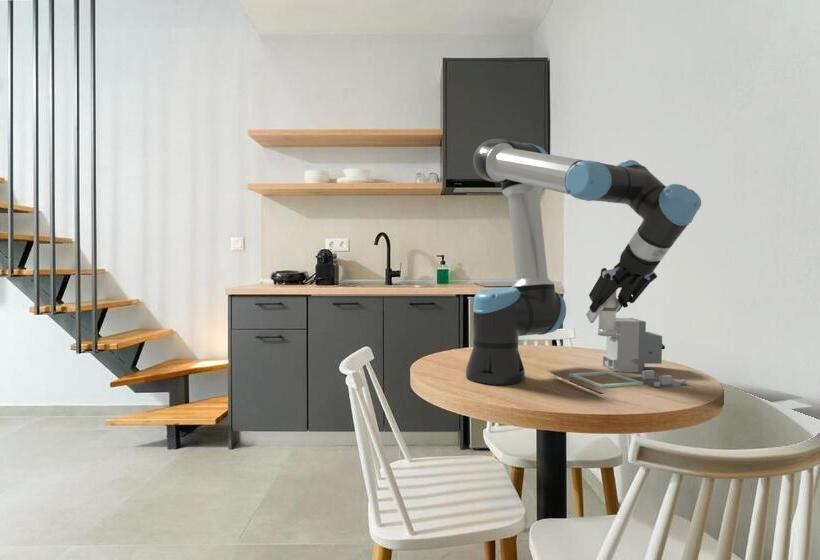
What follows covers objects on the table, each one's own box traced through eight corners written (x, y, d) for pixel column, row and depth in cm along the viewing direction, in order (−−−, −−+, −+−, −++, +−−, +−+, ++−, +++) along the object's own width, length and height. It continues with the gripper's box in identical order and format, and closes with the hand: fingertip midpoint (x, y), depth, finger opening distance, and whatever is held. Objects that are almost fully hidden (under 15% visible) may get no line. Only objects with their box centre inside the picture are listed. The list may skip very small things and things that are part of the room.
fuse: (605, 336, 112) (606, 286, 112) (594, 334, 116) (595, 285, 116) (619, 336, 113) (620, 286, 113) (607, 333, 117) (608, 285, 117)
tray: (601, 394, 108) (601, 385, 108) (568, 381, 119) (569, 373, 119) (643, 390, 112) (643, 382, 111) (607, 378, 123) (608, 371, 123)
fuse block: (656, 394, 108) (656, 379, 108) (624, 383, 118) (625, 369, 118) (690, 391, 111) (690, 376, 111) (656, 381, 121) (657, 367, 121)
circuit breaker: (667, 377, 125) (669, 321, 124) (613, 377, 125) (614, 321, 124) (653, 371, 132) (654, 318, 131) (602, 370, 132) (603, 317, 132)
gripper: (618, 263, 97) (572, 331, 114) (687, 263, 101) (633, 329, 118) (603, 239, 102) (561, 307, 119) (669, 240, 106) (620, 306, 123)
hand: (597, 318), depth 118 cm, fingers closed on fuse, 4 cm apart
